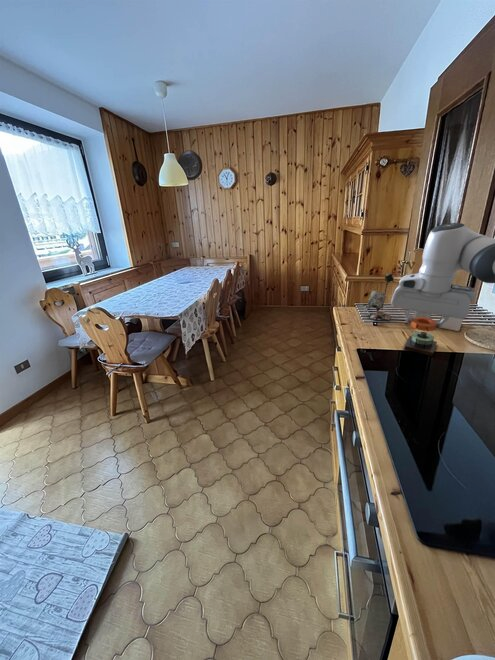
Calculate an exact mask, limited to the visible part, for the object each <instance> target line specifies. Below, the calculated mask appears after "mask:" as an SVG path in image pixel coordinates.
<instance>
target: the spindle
mask: <svg viewBox="0 0 495 660" xmlns="http://www.w3.org/2000/svg"><path fill="white" fill-rule="evenodd" d="M420 332H421V333H420V337H419V338H423V339H426V336H427V333H428V332H427V331H420ZM411 337H412V335H409V337H408V339H407V341H406V343H405V345H404V348H403V350H405V351H409V352H414V353H417V354H420V355H425V356H430V357H433V356H434V354H435V350H436V347H437V343H438V341H435V340H434V341H433V344H432V347H431V348H427V349H424V348H423V349H422V348H418V347H416V346H413V345H412V344H411V343H410V341H411Z"/></svg>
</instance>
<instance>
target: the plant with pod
mask: <svg viewBox="0 0 495 660" xmlns="http://www.w3.org/2000/svg"><path fill="white" fill-rule="evenodd" d="M384 280H385V283H386V284H385V289H384V292H382V291H378V290H372V291H371V292H370V295H369V298H368V301H367V305H368V306H367V307H366V309H365V310H364V311H363V312H364V313H366V312H367V311H368V310H369V309H370V308H373V309H375V310H376V312H372V313H370V314H369V315H370V316H369V318H370V320H377V321H381V320H388V321H390V320H391V318H392V316H391V314H389V313H386V312H385V311H383V309H384V308H383V307H384V303H385V301H386V299H387V295H386V293H387V287H388V283H390V282H392V283H395V281H394V280H395V279H394V276H393V274H392V273H391V272H389V273H387V274H386V275H384ZM380 310H381V311H380Z"/></svg>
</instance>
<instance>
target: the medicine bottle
mask: <svg viewBox="0 0 495 660" xmlns="http://www.w3.org/2000/svg"><path fill="white" fill-rule="evenodd" d="M441 320H443V316H442V315H440V318H439V321H441ZM463 320H464V319H459V318H453V317H449V319H448V320H447V321H446V322H445V323H444V324H442V327H441V329H444V330H445V329H446V330H450V331H455V332H460V330H461V326H462V324H463Z"/></svg>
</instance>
